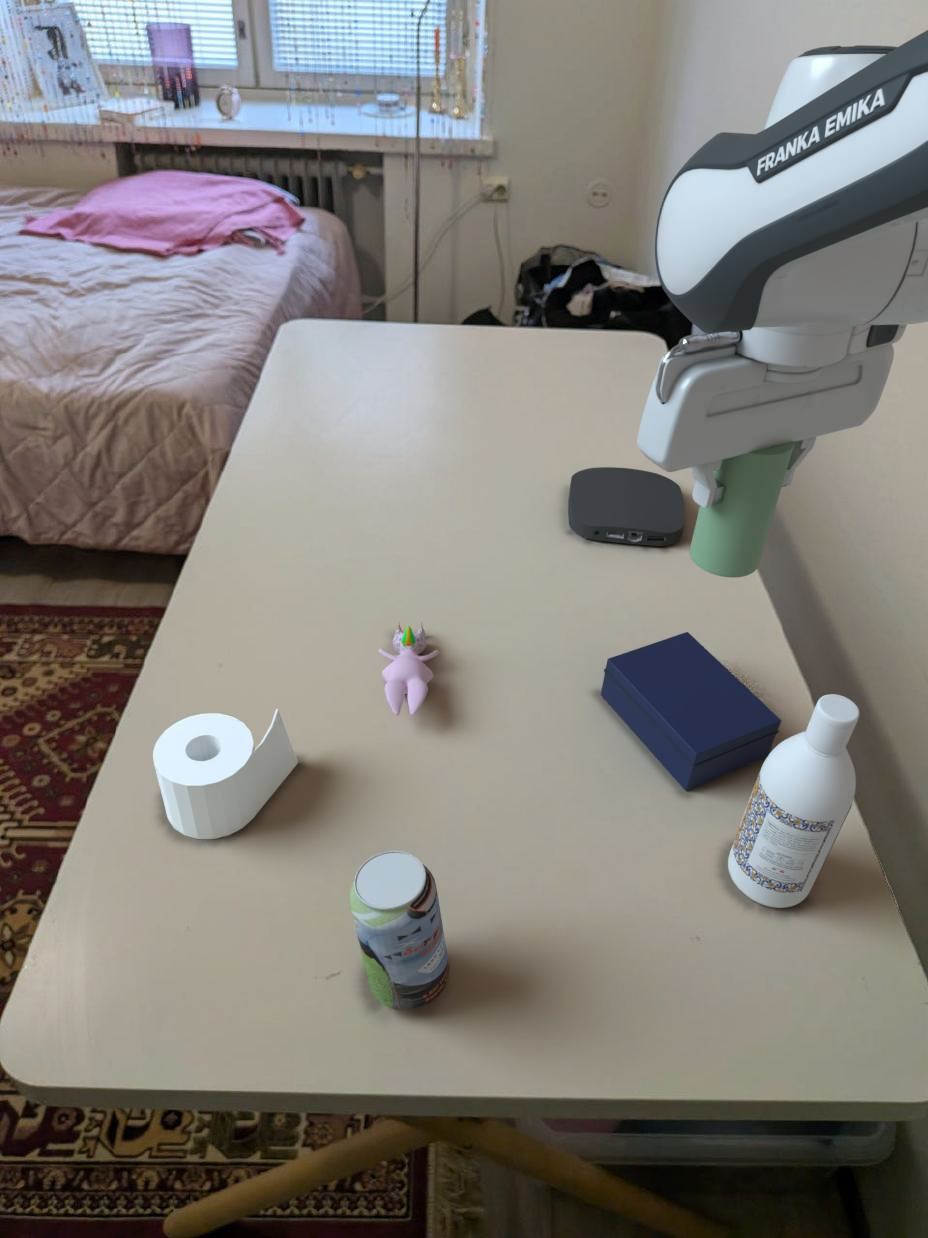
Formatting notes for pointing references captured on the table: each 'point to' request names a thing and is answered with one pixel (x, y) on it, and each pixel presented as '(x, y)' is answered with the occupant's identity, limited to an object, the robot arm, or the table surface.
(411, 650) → the pink toy figurine
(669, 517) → the media streaming box
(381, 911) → the beverage can
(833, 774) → the bath foam
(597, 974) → the table surface
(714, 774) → the case
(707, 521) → the bottle
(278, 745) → the toilet paper
